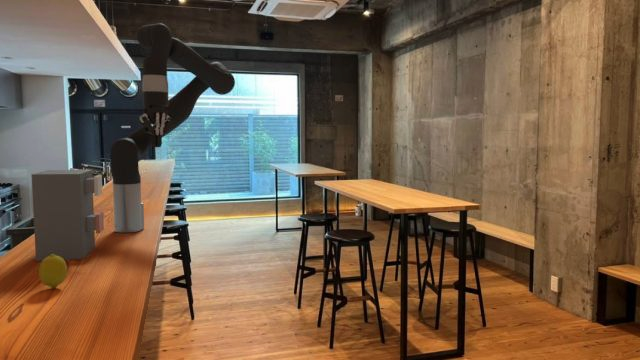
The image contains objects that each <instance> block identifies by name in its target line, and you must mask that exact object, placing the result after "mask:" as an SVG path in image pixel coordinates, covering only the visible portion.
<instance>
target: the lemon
mask: <svg viewBox="0 0 640 360" xmlns="http://www.w3.org/2000/svg"><path fill="white" fill-rule="evenodd" d="M38 270H39V271H38V275H39V279H40V282H41V283H43V284H44V285H45V286H47V287H50V288H51V289H56V288H57V287H58V286H59V285H61V284H63V283H64V282H65V280H66V278H67V275H68V266H67V263H66V261H65V260H64V259H63V258H61V257H59V256H56V255H54V254H51V255H50V256H48V257H46V258H45V259H44V260H43V261H41V263H40V265H39V268H38Z"/></svg>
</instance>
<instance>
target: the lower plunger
mask: <svg viewBox="0 0 640 360" xmlns="http://www.w3.org/2000/svg"><path fill="white" fill-rule="evenodd" d="M86 224H87V231H91V230H94V231H95V234H100V233H102V232H103V231H104V230H105V229H104V227H105V226H104V225H105V223H104V211H98V212H97V213H95V214H94V215H87V216H86Z"/></svg>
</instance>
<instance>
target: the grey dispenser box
mask: <svg viewBox="0 0 640 360" xmlns="http://www.w3.org/2000/svg"><path fill="white" fill-rule="evenodd" d="M85 178H93V170H92V169H52V170H51V169H48V170H44V171H43V170H42V171H40V172H35V173H31V190H32V210H33V230H34V246H35V247H34V249H35V261H36V262H42V261H43V260H44V259H45V258H46V257H48V256H50V255H51V254H54V255H56V256H59V257H61V258H63V259H64V261H65V260H84V259H85V258H86V257H87V256H89V254H90V253H91V252H92V251H93V250H94V248H95V247H96V238H95V237H96V235H95V234H96V231H95V230H91V231H87V224H86V216H87V215H95V212H94V211H95V210H94V193H85Z"/></svg>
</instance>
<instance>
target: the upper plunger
mask: <svg viewBox="0 0 640 360" xmlns="http://www.w3.org/2000/svg"><path fill="white" fill-rule="evenodd" d="M85 193H93V195H94V196H95V197H99V196H101V195H102V194H103V175H102V174H98V175H95V176H93V177H92V178H85Z"/></svg>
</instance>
